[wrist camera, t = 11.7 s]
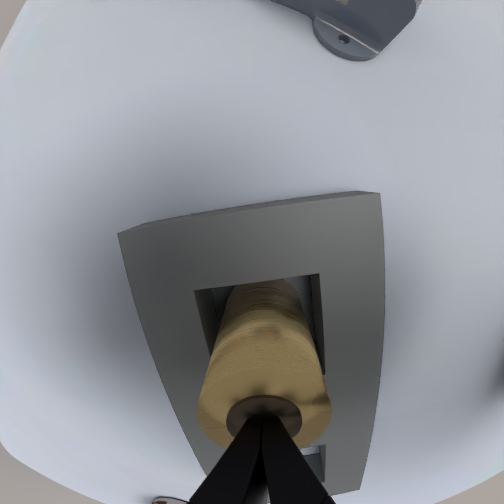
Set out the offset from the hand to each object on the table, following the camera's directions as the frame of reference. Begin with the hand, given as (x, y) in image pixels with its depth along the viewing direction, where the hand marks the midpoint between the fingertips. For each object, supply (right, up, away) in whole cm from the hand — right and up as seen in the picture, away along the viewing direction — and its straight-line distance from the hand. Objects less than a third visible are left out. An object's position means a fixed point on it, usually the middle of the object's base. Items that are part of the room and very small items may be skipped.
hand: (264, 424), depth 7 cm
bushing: (0, +2, +8) cm, 8 cm away
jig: (+1, -3, +9) cm, 10 cm away
